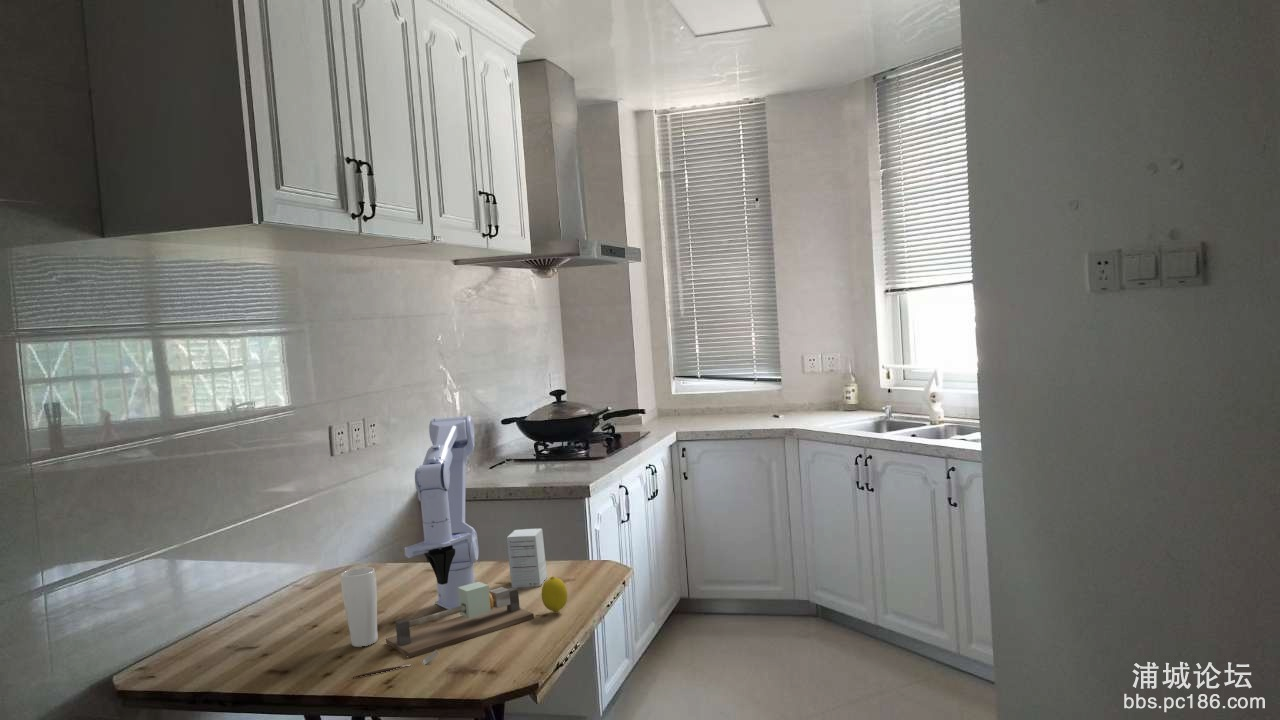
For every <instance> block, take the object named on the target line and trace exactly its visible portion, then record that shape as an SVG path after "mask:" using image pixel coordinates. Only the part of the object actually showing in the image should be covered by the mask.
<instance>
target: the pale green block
mask: <svg viewBox="0 0 1280 720" xmlns="http://www.w3.org/2000/svg"><path fill="white" fill-rule="evenodd" d="M489 591H490V589H489V585H488V584H486V583H483V582H482V581H477V582H476V581H474V583H472V584H468V585H465V586H461V587H458V597H459V606H463V605H466V611H463V612H460V613H459V616H465V617H467V618H469V619H471V618H474V617H477V616H480V615H484V614H487V613H490V612H491V607H490V597H489Z"/></svg>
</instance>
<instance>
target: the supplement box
mask: <svg viewBox="0 0 1280 720" xmlns="http://www.w3.org/2000/svg"><path fill="white" fill-rule="evenodd" d="M543 533H544V532H543V528H524V529H514V530H513V531H512V532H511V533H509V535H507V536H506V542H507V553H508V564H509V571H510V572H509V575H510V583H511V588H516V589H519V588H534V587H533V586H539V587H541V584H542V585H543V584H544V583H545V581H544V580H546V579H547V578H548V574H547V563H546V554H545V553H546V552H545V545H544V544H545V543H544V534H543ZM546 577H547V578H546Z"/></svg>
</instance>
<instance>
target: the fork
mask: <svg viewBox="0 0 1280 720" xmlns="http://www.w3.org/2000/svg"><path fill="white" fill-rule="evenodd" d="M438 655H439V651H438V649H436V650H433V652H431V653H430V654H429V655H428V656H427V657H426V658H424V659H423V663H424V665H423V666H426V665H427V664H429V663H431V661H432V660H434V659H435V658H437V656H438ZM423 663H422V664H423ZM425 664H426V665H425ZM410 665H411V664H405V665H400V666H392V667H386V668H381V669H377V670H374V671H370V672H367V673H365V672H364V673H362V674H358V675H355V676H352V677H353V678H354V677H360V676H365V675H370V676H372V675H371V674H376V673H381V672H385V673H387V672H386V671H389V672H391V671H390V670H393V669H396V668H400V667H404V668H406V667H405V666H410ZM400 669H401V668H400ZM393 671H394V670H393ZM381 674H382V673H381ZM376 675H377V674H376ZM365 677H366V676H365ZM360 678H361V677H360Z"/></svg>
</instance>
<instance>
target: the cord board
mask: <svg viewBox="0 0 1280 720" xmlns="http://www.w3.org/2000/svg"><path fill="white" fill-rule="evenodd" d="M489 597H490V607H491V612H490V613H487V614H484V615H480V616H477V617H474V618H471V619H469V618H467V617H465V616H462V615H459V616H457V617H453V618H450V619H446V620H444V621H440V622H437V623H433V624H430V625H427V626H423V627H420V628H417V629H413V630H411V631H410V628H412V627H415V626H418V625H423V624H425V623H428V622H431V621H435V620H438V619H442V618H446V617H450V616H452V615H456V614H460V612H463V611H466V605H463V606H459V607H456V608H452V609H449V610H448V609H446V610H443V611H439V612H436V613H432V614H428V615H425V616H422V617H419V618H415V619H411V620H407V619H405V618H403V619H399V620H397V621H395V631H396V632H395V633H396V635H394V636H390V637H387V638H385V643H387V644H386V645H388V644H389V645H391V646H392V647H391V646H390V647H391V648H393V647H394V648H395V649H394V648H393V649H394V650H396V649H397V650H398V651H397V650H396V651H397V652H399V651H400V652H399V653H401V654H402V653H403V654H402V655H404V656H405V655H406V656H405V657H407V656H408V657H409V659H411V658H414V657H417V656H416V655H418V656H420V654H421V655H423V654H427V653H429V652H432V651H433V652H434V651H435V650H436V649H437V650H439V649H443V648H445V647H448V646H452V645H455V644H458V643H461V642H464V641H467V640H470V639H473V638H477V637H480V636H483V635H486V634H489V633H492V632H495V631H498V630H501V629H502V630H503V629H504V628H508V627H511V626H515V625H518V624H520V623H523V622H526V621H529V620H533V619H535V617H534V615H535V614H534V613H533V612H530V611H528V610H525V609H523V608H521V607H520V606H521V605H520V598H519V588H512V587H510V588H506V587H503V586H500V587H498V588H494V589H491V590H490V589H489ZM389 645H388V646H389ZM437 650H436V651H437ZM413 656H414V657H413ZM408 657H407V658H408ZM410 657H411V658H410Z"/></svg>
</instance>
